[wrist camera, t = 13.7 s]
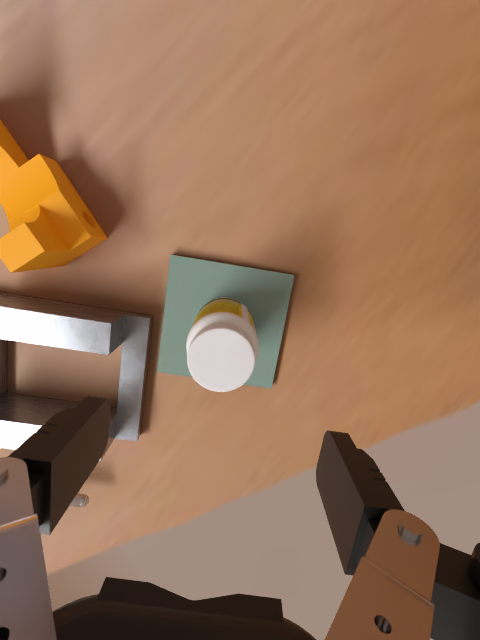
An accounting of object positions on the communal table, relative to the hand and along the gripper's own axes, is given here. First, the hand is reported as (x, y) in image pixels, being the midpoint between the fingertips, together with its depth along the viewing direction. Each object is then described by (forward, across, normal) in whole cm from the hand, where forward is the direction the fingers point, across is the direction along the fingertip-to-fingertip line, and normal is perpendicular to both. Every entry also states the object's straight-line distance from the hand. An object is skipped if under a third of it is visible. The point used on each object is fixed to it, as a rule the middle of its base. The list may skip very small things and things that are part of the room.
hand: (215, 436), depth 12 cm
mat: (+16, +1, 0) cm, 16 cm away
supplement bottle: (+15, 0, 0) cm, 16 cm away
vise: (+16, +14, +6) cm, 21 cm away
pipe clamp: (+16, +16, -9) cm, 25 cm away
